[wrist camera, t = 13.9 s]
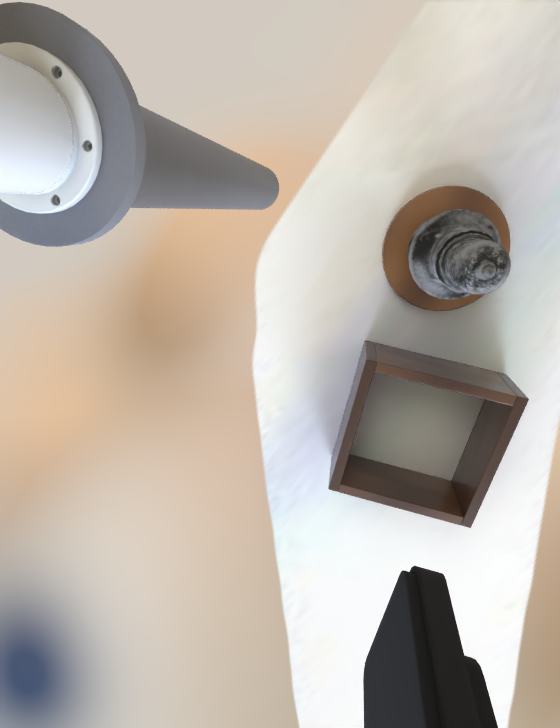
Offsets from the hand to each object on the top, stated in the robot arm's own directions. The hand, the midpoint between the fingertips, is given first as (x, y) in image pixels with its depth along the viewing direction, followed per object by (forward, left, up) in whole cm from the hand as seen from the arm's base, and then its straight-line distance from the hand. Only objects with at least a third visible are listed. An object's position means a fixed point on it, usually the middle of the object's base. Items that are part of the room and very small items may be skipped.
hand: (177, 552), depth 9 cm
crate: (+11, -8, -28) cm, 31 cm away
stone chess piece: (+9, +6, -28) cm, 30 cm away
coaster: (+9, +6, -28) cm, 30 cm away
